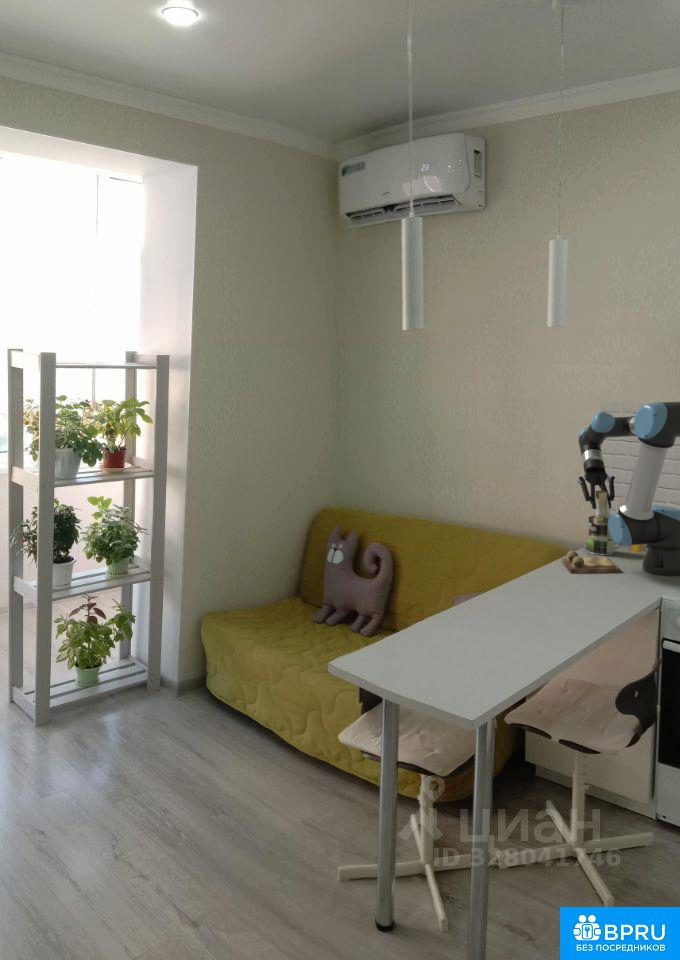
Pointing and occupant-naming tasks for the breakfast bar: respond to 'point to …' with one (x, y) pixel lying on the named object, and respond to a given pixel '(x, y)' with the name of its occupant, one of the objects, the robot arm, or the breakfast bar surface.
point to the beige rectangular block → (601, 508)
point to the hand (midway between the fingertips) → (603, 515)
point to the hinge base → (588, 564)
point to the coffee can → (600, 539)
